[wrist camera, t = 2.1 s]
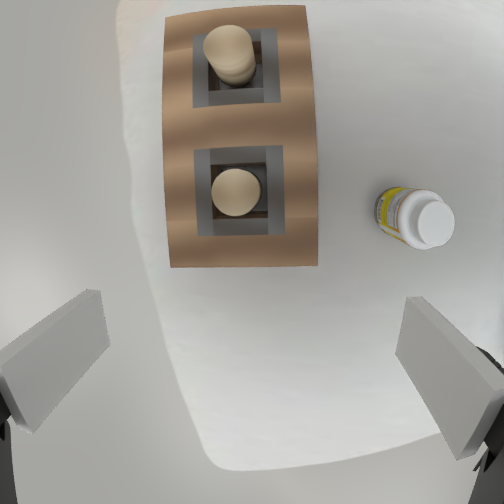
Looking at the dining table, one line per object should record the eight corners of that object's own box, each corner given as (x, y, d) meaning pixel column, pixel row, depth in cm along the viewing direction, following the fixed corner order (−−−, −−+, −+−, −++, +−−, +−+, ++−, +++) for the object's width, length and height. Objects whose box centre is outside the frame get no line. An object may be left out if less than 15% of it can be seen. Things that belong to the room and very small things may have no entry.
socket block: (181, 38, 29) (165, 17, 23) (301, 30, 28) (305, 5, 22) (187, 253, 35) (170, 267, 29) (310, 251, 34) (317, 265, 28)
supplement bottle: (422, 220, 32) (469, 236, 22) (385, 243, 33) (424, 268, 23) (403, 178, 31) (448, 180, 22) (364, 201, 32) (399, 211, 23)
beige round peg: (216, 53, 25) (202, 27, 19) (255, 50, 25) (250, 23, 19) (216, 87, 26) (202, 67, 20) (257, 85, 26) (252, 63, 20)
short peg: (222, 171, 30) (210, 170, 24) (261, 170, 30) (257, 167, 24) (224, 209, 31) (212, 216, 25) (262, 208, 30) (259, 215, 25)
